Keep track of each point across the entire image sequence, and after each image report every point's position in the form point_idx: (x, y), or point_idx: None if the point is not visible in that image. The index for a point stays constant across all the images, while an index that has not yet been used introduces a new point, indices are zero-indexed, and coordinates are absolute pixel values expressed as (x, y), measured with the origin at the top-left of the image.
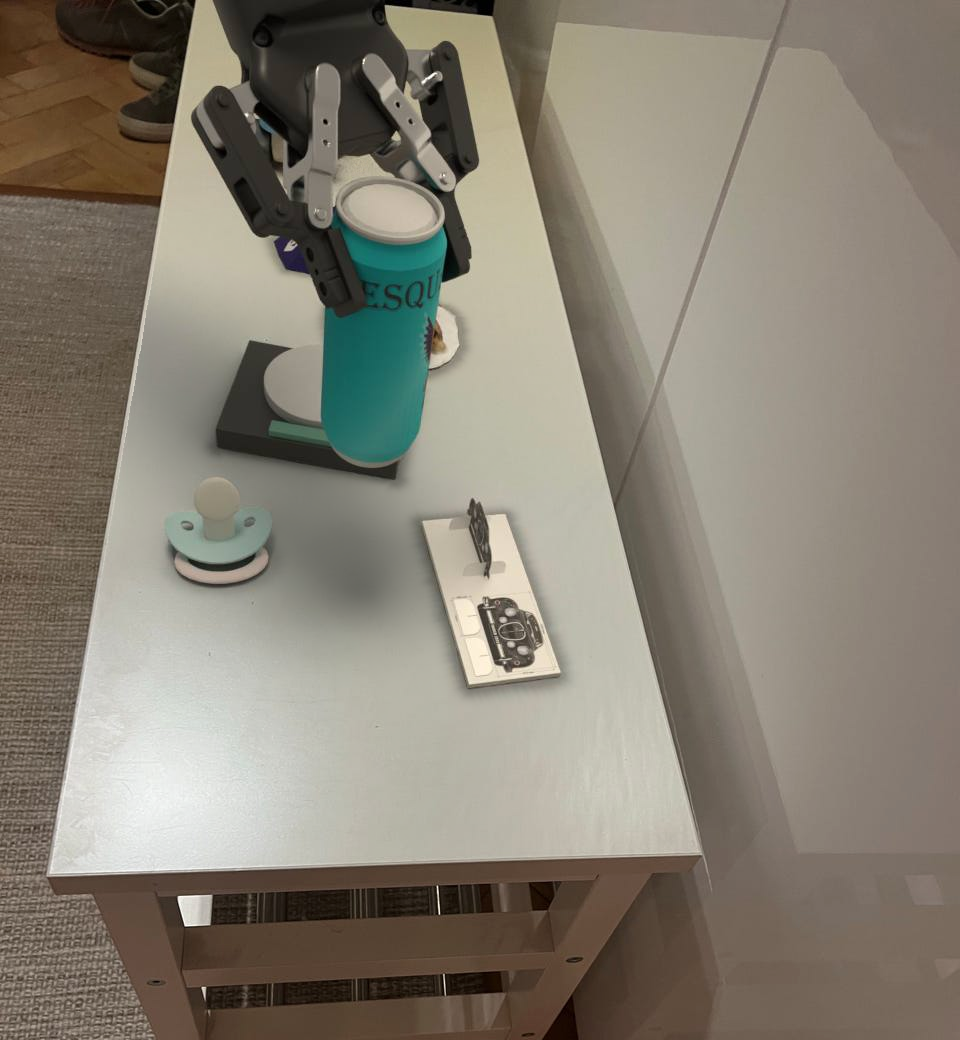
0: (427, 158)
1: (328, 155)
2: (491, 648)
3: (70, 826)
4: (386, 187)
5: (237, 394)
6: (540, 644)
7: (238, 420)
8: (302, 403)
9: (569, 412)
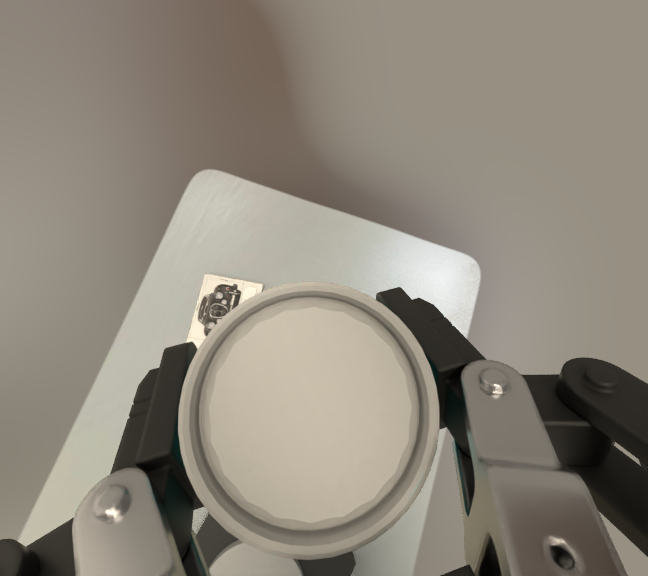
0: (135, 566)
1: (530, 507)
2: (237, 303)
3: (479, 279)
4: (290, 498)
5: None
6: (206, 296)
7: (335, 570)
8: (280, 574)
9: (37, 523)
